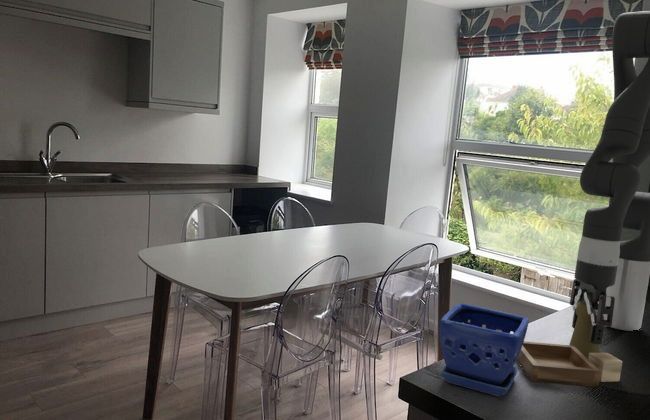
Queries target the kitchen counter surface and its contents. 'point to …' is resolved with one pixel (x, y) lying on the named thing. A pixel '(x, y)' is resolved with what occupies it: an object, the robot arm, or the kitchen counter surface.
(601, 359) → the beech block
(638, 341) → the kitchen counter surface
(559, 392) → the kitchen counter surface
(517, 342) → the flower pot
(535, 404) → the kitchen counter surface
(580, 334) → the cork
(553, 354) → the tray
